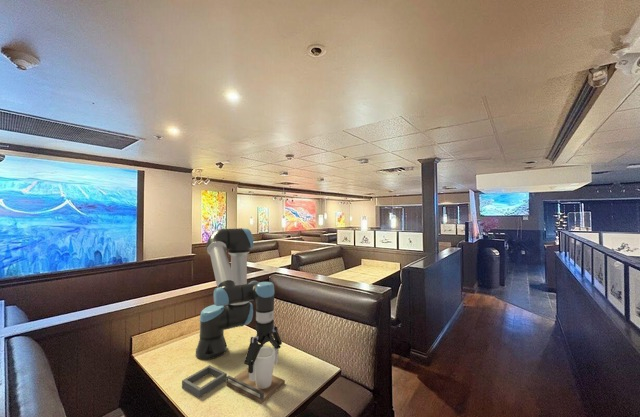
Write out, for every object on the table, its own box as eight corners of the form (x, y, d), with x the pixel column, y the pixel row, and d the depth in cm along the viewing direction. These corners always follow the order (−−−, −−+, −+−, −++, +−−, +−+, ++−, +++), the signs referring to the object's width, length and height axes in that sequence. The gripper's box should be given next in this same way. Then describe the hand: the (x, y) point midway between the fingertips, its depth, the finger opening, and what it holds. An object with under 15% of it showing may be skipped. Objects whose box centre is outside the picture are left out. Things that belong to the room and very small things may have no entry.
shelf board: (226, 386, 109) (226, 376, 109) (251, 369, 121) (251, 360, 121) (261, 404, 99) (261, 393, 99) (284, 383, 111) (284, 374, 111)
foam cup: (279, 381, 110) (280, 350, 110) (264, 394, 102) (264, 360, 102) (263, 374, 115) (263, 344, 115) (247, 385, 107) (248, 354, 107)
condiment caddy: (181, 387, 108) (182, 380, 108) (209, 371, 119) (209, 365, 119) (199, 398, 102) (199, 390, 102) (226, 380, 113) (226, 373, 113)
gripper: (249, 333, 96) (248, 391, 96) (289, 312, 118) (289, 359, 117) (235, 328, 100) (234, 384, 100) (277, 309, 122) (276, 355, 121)
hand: (264, 371), depth 108 cm, fingers open, 13 cm apart
